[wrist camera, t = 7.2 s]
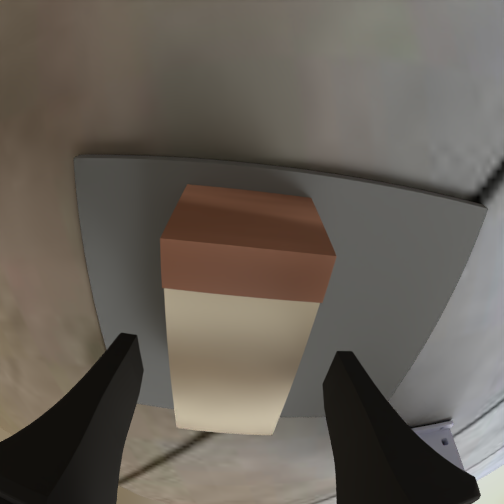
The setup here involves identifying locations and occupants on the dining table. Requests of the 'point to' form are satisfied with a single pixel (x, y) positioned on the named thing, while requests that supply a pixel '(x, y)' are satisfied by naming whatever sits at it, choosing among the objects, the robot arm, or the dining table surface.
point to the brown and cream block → (240, 303)
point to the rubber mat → (341, 281)
